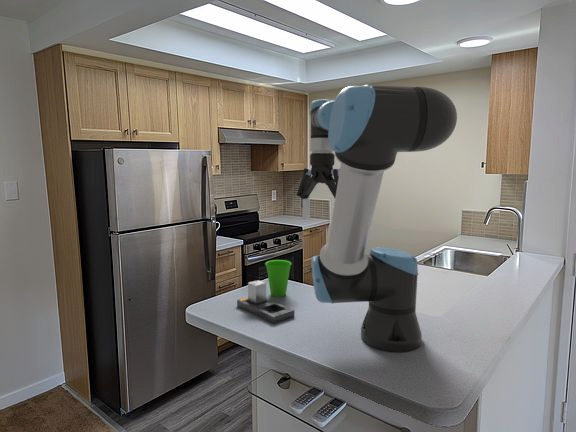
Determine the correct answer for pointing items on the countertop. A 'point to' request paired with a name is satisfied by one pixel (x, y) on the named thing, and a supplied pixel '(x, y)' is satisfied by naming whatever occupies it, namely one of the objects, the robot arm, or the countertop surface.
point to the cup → (278, 276)
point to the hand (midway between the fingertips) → (321, 221)
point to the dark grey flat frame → (267, 310)
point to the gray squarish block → (256, 292)
